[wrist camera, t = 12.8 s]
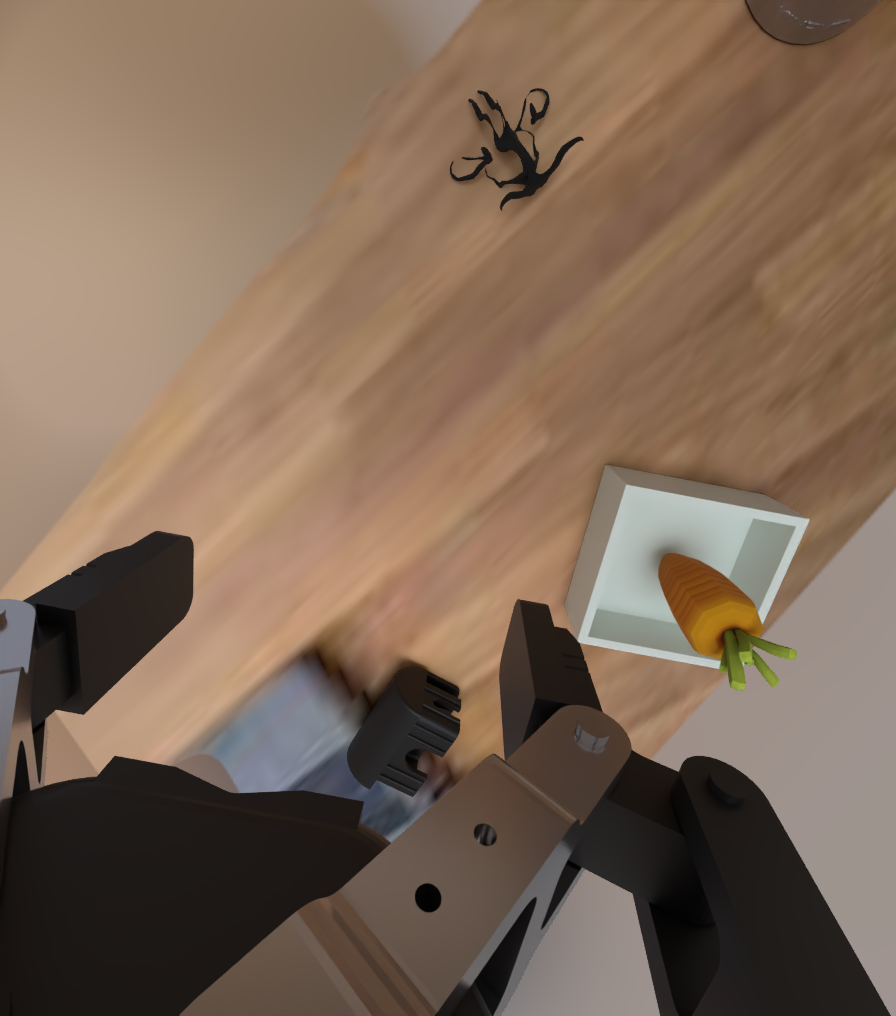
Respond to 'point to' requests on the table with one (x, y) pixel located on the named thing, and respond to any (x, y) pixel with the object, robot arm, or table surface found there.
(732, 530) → the bin
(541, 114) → the creature
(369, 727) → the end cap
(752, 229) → the table surface
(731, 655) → the carrot
